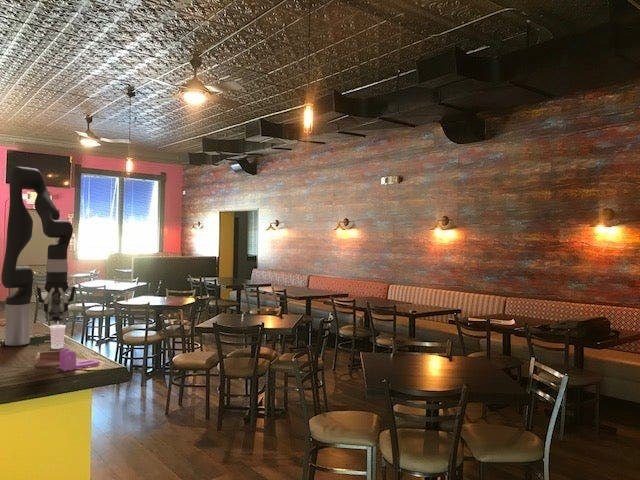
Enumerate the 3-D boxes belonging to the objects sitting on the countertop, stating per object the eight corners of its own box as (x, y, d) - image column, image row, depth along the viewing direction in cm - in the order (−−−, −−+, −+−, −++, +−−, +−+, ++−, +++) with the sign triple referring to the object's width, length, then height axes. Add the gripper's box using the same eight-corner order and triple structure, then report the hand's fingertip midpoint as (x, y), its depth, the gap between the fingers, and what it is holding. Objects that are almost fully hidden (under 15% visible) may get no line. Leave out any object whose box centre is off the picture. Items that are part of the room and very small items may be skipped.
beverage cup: (68, 346, 217) (69, 313, 217) (59, 349, 211) (60, 315, 211) (54, 345, 218) (55, 312, 217) (45, 348, 212) (46, 315, 211)
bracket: (64, 371, 181) (65, 352, 181) (59, 368, 185) (59, 349, 185) (101, 365, 190) (102, 346, 190) (95, 362, 194) (96, 344, 194)
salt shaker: (56, 321, 200) (57, 291, 199) (43, 320, 201) (44, 290, 201) (67, 319, 205) (68, 289, 205) (54, 318, 207) (55, 288, 206)
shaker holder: (36, 359, 195) (36, 351, 195) (65, 357, 199) (65, 349, 199) (35, 367, 185) (35, 358, 185) (66, 364, 190) (66, 356, 190)
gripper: (76, 269, 209) (75, 310, 210) (36, 269, 203) (35, 311, 203) (77, 271, 203) (76, 313, 203) (36, 271, 196) (34, 315, 196)
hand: (55, 312), depth 203 cm, fingers closed on salt shaker, 6 cm apart
